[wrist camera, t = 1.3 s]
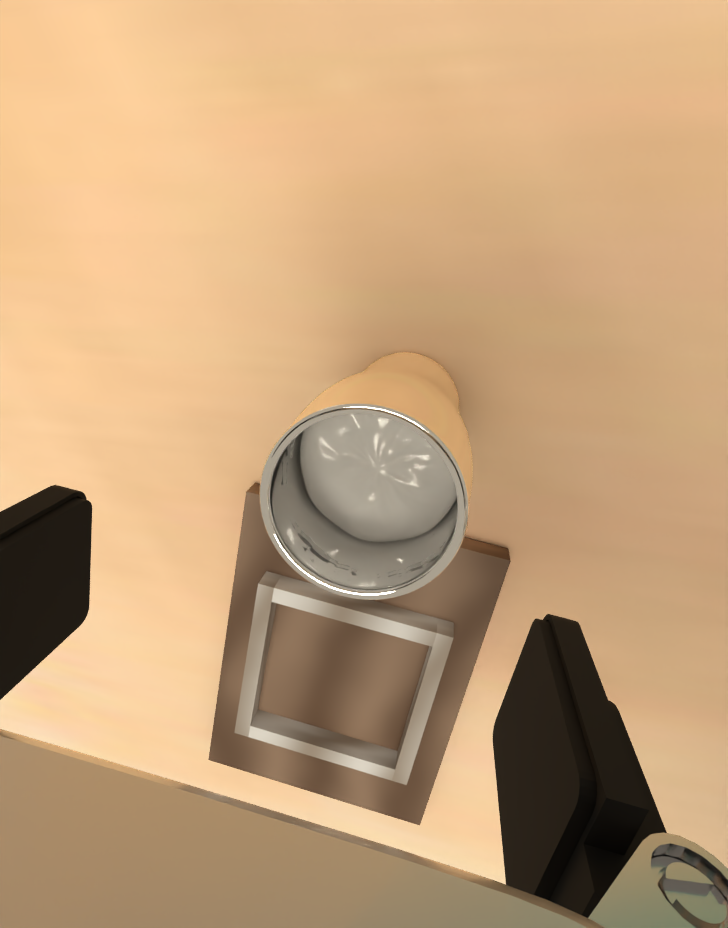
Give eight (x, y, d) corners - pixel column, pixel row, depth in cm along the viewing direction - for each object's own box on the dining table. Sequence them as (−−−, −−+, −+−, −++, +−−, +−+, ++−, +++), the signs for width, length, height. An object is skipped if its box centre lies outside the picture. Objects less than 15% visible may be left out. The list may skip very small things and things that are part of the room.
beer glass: (349, 465, 32) (266, 603, 18) (340, 347, 30) (237, 400, 16) (468, 463, 31) (477, 610, 17) (466, 339, 29) (475, 391, 15)
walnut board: (508, 548, 32) (512, 573, 29) (420, 806, 40) (418, 845, 37) (255, 483, 34) (236, 500, 31) (217, 743, 41) (199, 777, 38)
